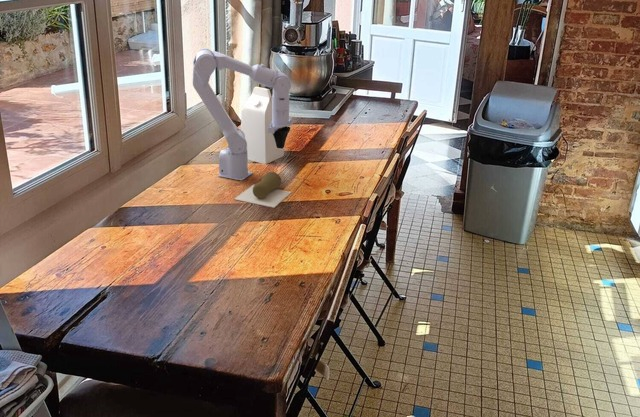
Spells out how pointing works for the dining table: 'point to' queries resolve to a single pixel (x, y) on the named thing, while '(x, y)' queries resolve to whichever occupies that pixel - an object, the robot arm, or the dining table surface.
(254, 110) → the milk
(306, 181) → the dining table surface
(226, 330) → the dining table surface
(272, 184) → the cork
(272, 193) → the mat
